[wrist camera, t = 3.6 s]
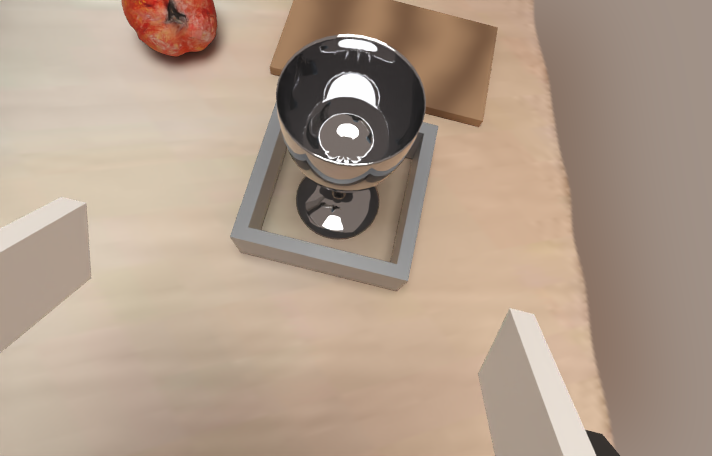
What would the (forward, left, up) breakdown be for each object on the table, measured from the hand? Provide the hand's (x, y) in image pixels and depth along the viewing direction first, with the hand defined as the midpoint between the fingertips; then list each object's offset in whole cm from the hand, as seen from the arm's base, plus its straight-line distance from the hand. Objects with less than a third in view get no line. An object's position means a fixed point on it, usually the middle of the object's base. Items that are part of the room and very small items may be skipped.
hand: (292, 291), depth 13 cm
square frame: (0, +11, -21) cm, 24 cm away
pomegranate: (-18, +23, -21) cm, 37 cm away
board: (+1, +27, -21) cm, 35 cm away
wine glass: (0, +11, -21) cm, 24 cm away
